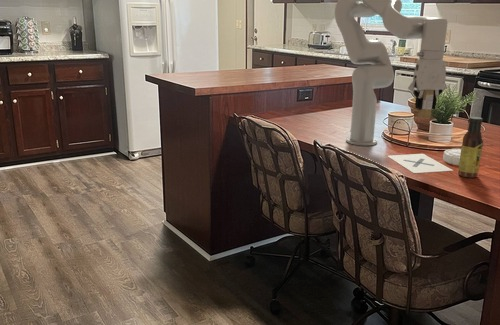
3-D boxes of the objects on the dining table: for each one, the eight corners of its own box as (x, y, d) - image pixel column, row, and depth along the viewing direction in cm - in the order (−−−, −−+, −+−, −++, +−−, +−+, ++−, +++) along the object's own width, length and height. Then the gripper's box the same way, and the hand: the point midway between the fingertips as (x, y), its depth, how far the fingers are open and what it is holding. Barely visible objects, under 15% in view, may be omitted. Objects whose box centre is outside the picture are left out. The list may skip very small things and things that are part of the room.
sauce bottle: (478, 179, 161) (487, 120, 155) (457, 177, 163) (466, 119, 157) (477, 173, 167) (486, 116, 160) (457, 171, 169) (465, 115, 163)
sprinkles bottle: (415, 116, 174) (419, 78, 170) (427, 115, 174) (432, 78, 170) (420, 119, 169) (425, 80, 165) (433, 118, 170) (438, 80, 166)
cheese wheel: (482, 161, 180) (484, 152, 179) (471, 169, 172) (472, 159, 171) (450, 154, 188) (451, 145, 187) (437, 161, 180) (438, 152, 178)
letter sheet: (386, 155, 185) (386, 155, 185) (422, 153, 188) (422, 153, 188) (413, 173, 166) (413, 173, 166) (453, 170, 169) (453, 170, 169)
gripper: (414, 57, 160) (408, 111, 166) (460, 56, 163) (453, 110, 169) (403, 54, 167) (397, 107, 173) (447, 54, 170) (440, 105, 176)
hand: (425, 108), depth 171 cm, fingers closed on sprinkles bottle, 4 cm apart
